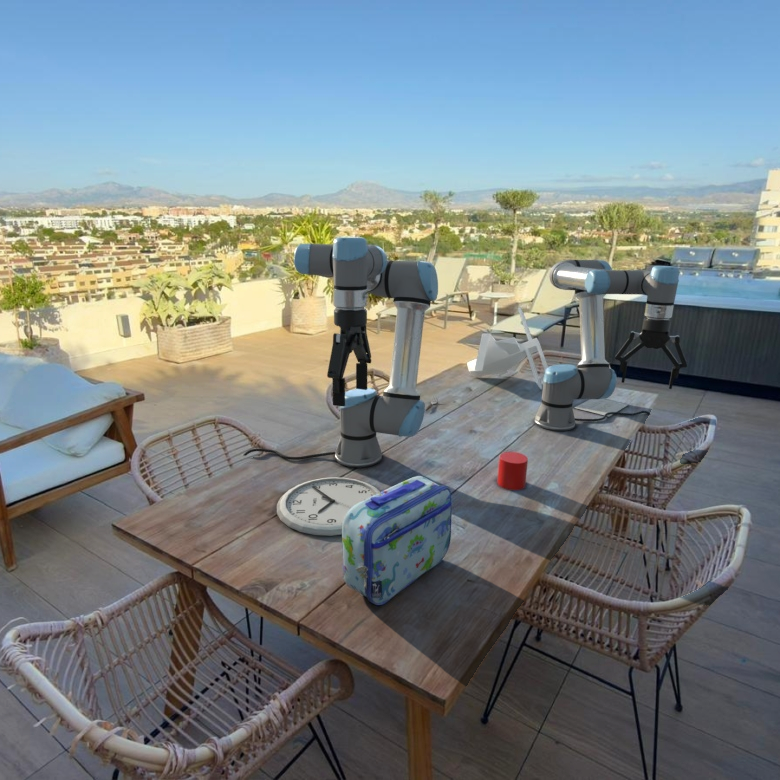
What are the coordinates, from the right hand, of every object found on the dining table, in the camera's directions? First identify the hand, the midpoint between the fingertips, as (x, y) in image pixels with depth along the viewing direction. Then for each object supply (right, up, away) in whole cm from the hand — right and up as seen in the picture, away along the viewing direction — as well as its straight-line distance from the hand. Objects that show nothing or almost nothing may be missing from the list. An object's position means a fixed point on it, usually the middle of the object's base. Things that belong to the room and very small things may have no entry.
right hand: (646, 384), depth 166 cm
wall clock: (-97, -33, -23) cm, 105 cm away
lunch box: (-79, -43, -52) cm, 104 cm away
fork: (-64, -9, +57) cm, 86 cm away
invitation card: (+10, -9, +61) cm, 62 cm away
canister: (-45, -30, -9) cm, 55 cm away
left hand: (-91, -3, -41) cm, 99 cm away
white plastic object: (-24, +2, +92) cm, 95 cm away
